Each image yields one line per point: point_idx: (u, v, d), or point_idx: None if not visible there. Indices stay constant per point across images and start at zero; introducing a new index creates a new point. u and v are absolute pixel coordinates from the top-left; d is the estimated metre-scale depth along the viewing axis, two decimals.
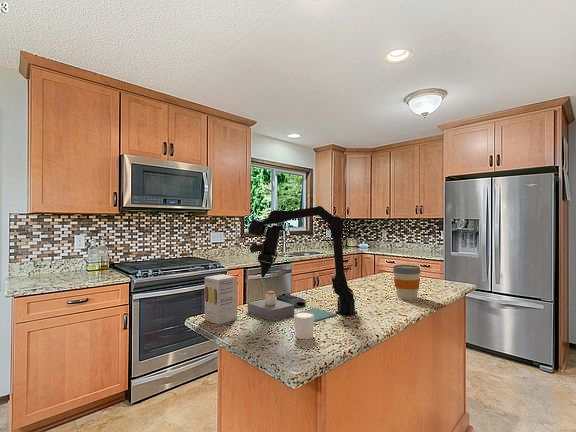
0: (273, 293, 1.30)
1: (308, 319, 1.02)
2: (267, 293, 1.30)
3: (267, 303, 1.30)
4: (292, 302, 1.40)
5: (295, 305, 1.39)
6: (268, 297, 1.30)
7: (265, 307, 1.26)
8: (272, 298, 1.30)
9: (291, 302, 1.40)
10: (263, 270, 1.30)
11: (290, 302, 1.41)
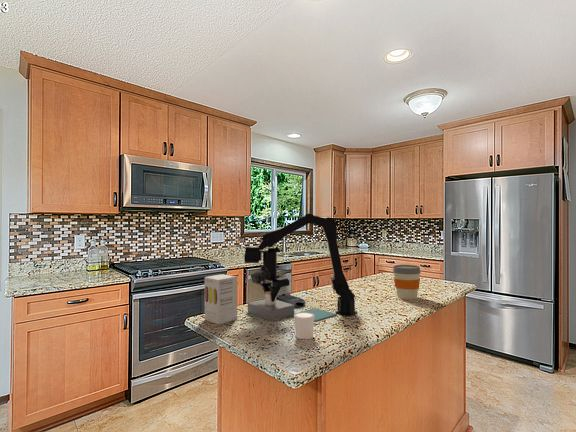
0: None
1: (308, 319, 1.02)
2: (267, 293, 1.30)
3: (267, 303, 1.30)
4: (291, 302, 1.40)
5: (294, 305, 1.39)
6: (268, 297, 1.30)
7: (265, 307, 1.26)
8: None
9: (290, 302, 1.40)
10: (274, 294, 1.29)
11: (289, 302, 1.41)
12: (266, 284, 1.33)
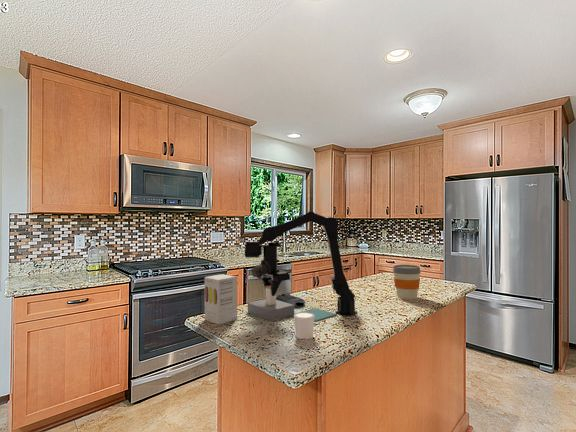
0: None
1: (308, 319, 1.02)
2: (267, 287, 1.30)
3: (267, 297, 1.30)
4: (291, 302, 1.40)
5: (294, 305, 1.39)
6: (268, 291, 1.30)
7: (265, 307, 1.26)
8: None
9: (290, 302, 1.40)
10: (274, 288, 1.29)
11: (289, 302, 1.41)
12: (266, 278, 1.33)
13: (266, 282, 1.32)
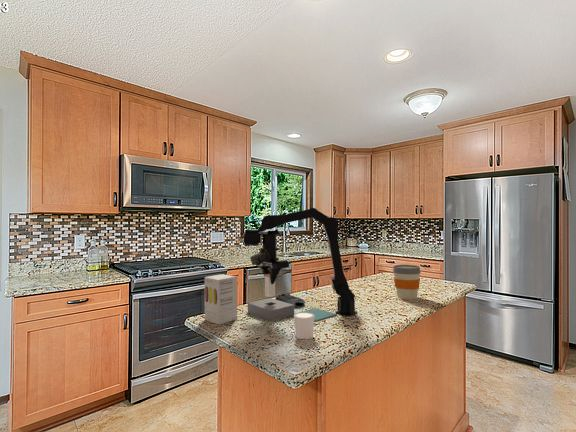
0: None
1: (308, 319, 1.02)
2: (267, 275, 1.30)
3: (266, 285, 1.30)
4: (291, 302, 1.40)
5: (294, 305, 1.39)
6: (267, 279, 1.30)
7: (265, 307, 1.26)
8: None
9: (290, 302, 1.40)
10: (273, 276, 1.29)
11: (289, 302, 1.40)
12: (266, 267, 1.33)
13: (265, 270, 1.32)
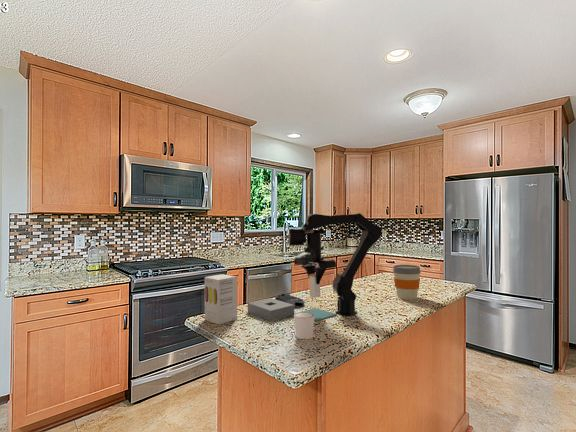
0: None
1: (308, 319, 1.02)
2: (312, 275, 1.27)
3: (311, 286, 1.27)
4: (290, 302, 1.40)
5: None
6: (313, 279, 1.27)
7: (265, 307, 1.26)
8: None
9: (289, 302, 1.40)
10: (319, 277, 1.26)
11: (288, 302, 1.40)
12: (310, 267, 1.30)
13: (309, 270, 1.29)
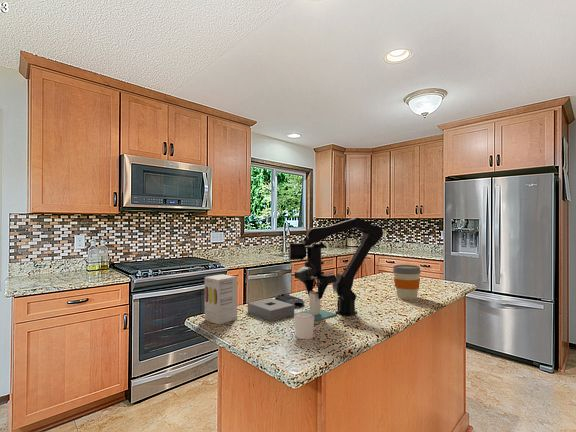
0: None
1: (308, 319, 1.02)
2: (311, 293, 1.27)
3: (311, 303, 1.27)
4: (290, 302, 1.40)
5: None
6: (313, 297, 1.27)
7: (265, 307, 1.26)
8: (317, 298, 1.27)
9: (289, 302, 1.40)
10: (321, 292, 1.25)
11: (288, 302, 1.40)
12: (308, 280, 1.30)
13: (308, 284, 1.30)
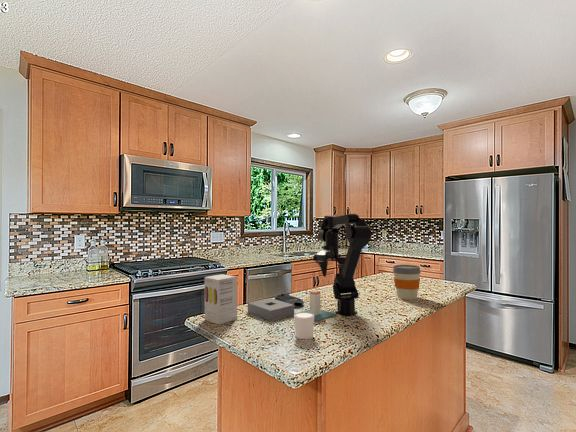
0: (318, 293, 1.27)
1: (308, 319, 1.02)
2: (312, 293, 1.27)
3: (312, 303, 1.27)
4: (289, 302, 1.40)
5: None
6: (313, 297, 1.27)
7: (265, 307, 1.26)
8: (318, 298, 1.27)
9: (289, 302, 1.40)
10: None
11: (288, 302, 1.40)
12: (323, 262, 1.46)
13: (323, 265, 1.46)
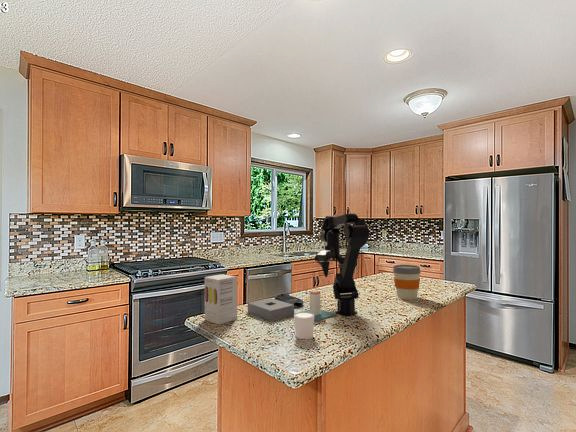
0: (318, 293, 1.27)
1: (308, 319, 1.02)
2: (312, 293, 1.27)
3: (312, 303, 1.27)
4: (289, 302, 1.40)
5: None
6: (313, 297, 1.27)
7: (265, 307, 1.26)
8: (318, 298, 1.27)
9: (288, 302, 1.40)
10: None
11: (287, 302, 1.40)
12: (324, 262, 1.47)
13: (324, 266, 1.46)
